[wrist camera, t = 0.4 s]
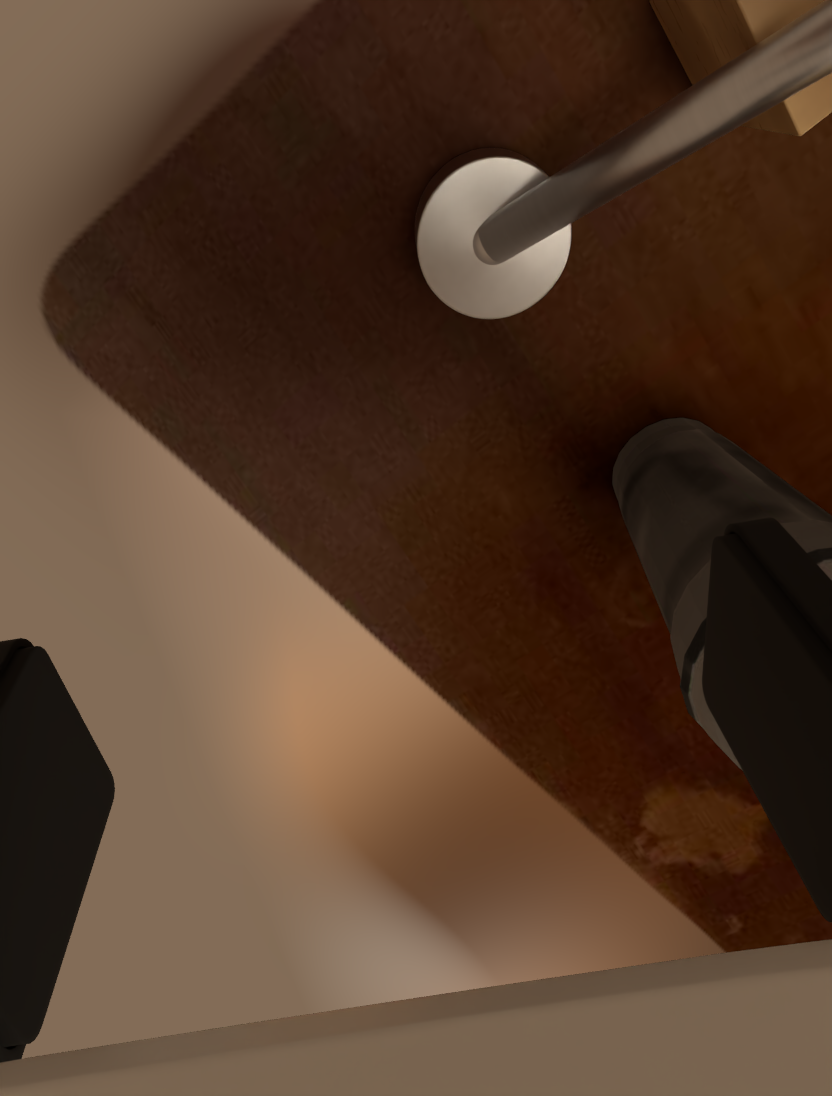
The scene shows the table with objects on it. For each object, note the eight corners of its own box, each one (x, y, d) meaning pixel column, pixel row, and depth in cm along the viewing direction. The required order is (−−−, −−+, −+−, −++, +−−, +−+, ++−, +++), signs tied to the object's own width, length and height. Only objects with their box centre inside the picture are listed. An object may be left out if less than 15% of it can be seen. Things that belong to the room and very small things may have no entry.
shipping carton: (710, 121, 24) (800, 137, 20) (648, 0, 23) (729, -15, 18) (779, 64, 24) (891, 67, 19) (720, -65, 22) (827, -100, 17)
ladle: (472, 329, 27) (520, 491, 18) (384, 217, 25) (386, 333, 16) (1016, -98, 21) (1529, -200, 12) (962, -295, 19) (1537, -613, 10)
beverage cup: (795, 456, 31) (1321, 928, 14) (657, 575, 34) (962, 1091, 17) (680, 344, 28) (1169, 767, 11) (540, 484, 31) (767, 994, 14)
